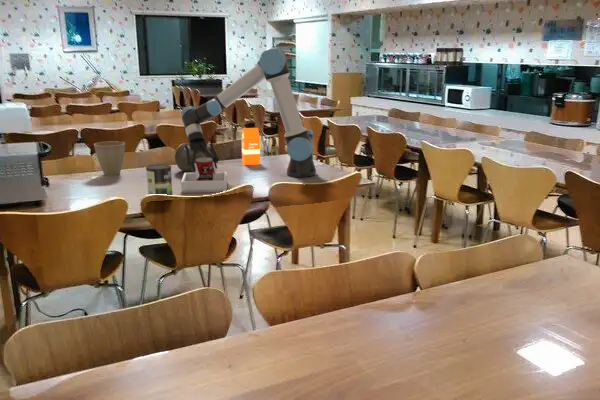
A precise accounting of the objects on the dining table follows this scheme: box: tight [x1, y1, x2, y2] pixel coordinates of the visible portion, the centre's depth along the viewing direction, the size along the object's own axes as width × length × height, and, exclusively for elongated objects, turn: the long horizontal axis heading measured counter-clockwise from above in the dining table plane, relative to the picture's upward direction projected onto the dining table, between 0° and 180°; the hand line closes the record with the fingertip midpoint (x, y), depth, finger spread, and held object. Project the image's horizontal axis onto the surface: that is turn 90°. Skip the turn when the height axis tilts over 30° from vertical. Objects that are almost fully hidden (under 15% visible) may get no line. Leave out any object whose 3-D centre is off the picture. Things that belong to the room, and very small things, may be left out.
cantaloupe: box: [174, 142, 202, 173], centre depth 278 cm, size 14×14×15 cm
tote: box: [180, 171, 228, 193], centre depth 248 cm, size 20×18×5 cm
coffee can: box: [145, 163, 173, 195], centre depth 228 cm, size 10×10×14 cm
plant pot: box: [93, 140, 126, 177], centre depth 271 cm, size 15×15×16 cm
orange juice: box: [241, 127, 261, 166], centre depth 298 cm, size 8×9×20 cm
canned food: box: [196, 156, 213, 181], centre depth 247 cm, size 8×8×11 cm
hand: (206, 175), depth 244 cm, fingers closed on canned food, 8 cm apart
